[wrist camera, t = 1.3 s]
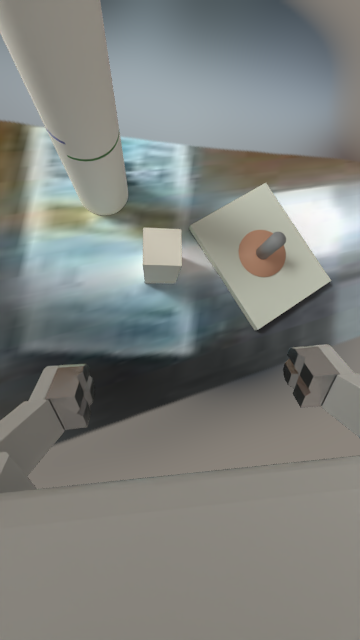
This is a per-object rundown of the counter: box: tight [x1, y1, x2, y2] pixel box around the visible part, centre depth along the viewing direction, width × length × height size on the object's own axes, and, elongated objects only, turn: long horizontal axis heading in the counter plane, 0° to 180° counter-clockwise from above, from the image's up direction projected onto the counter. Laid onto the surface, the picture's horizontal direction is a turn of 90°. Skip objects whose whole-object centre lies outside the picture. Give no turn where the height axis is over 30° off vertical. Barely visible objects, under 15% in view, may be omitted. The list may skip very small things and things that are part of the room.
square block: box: [143, 228, 182, 284], centre depth 33 cm, size 4×4×8 cm
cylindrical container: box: [0, 0, 128, 215], centre depth 25 cm, size 7×7×25 cm
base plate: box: [189, 183, 331, 330], centre depth 36 cm, size 18×14×6 cm
